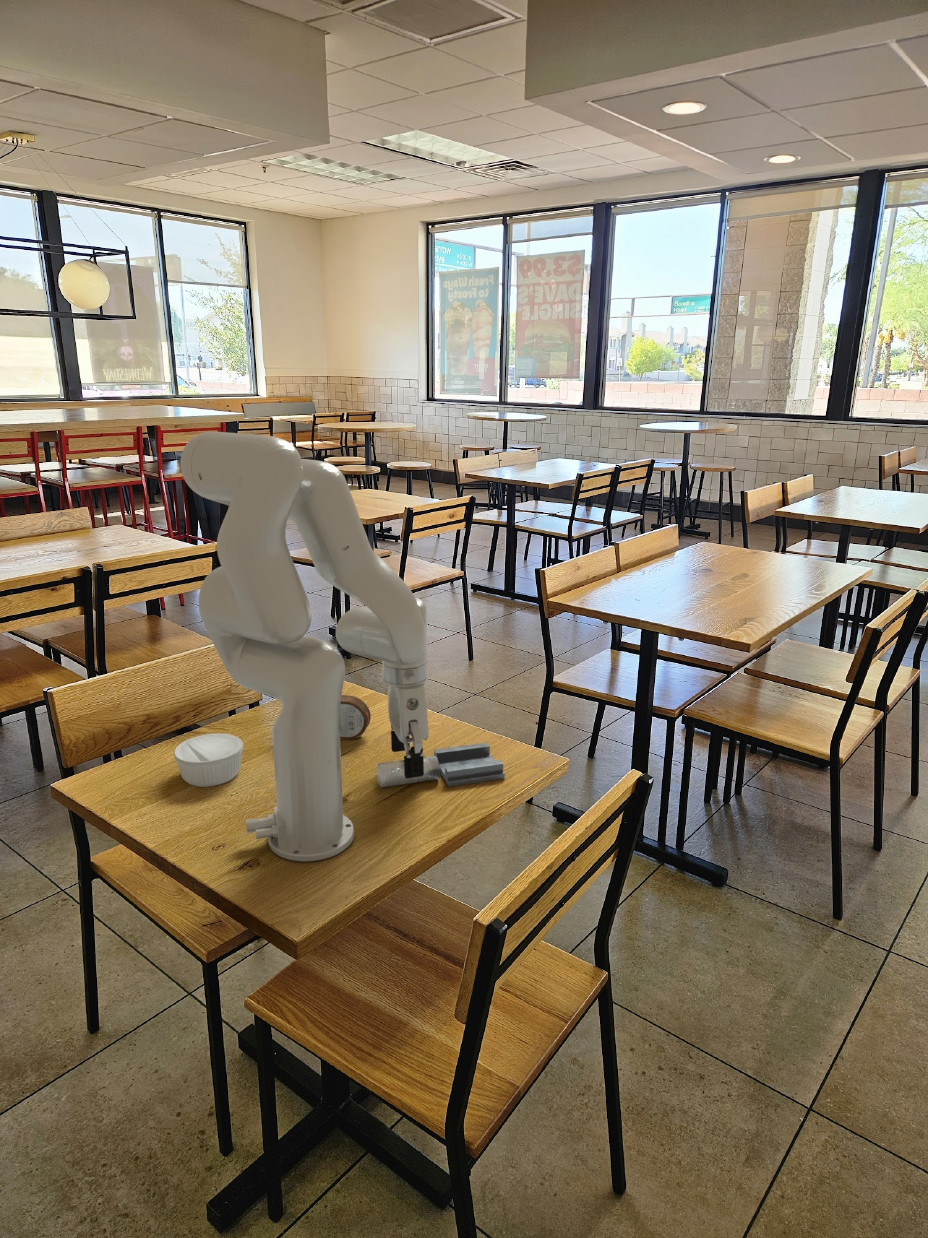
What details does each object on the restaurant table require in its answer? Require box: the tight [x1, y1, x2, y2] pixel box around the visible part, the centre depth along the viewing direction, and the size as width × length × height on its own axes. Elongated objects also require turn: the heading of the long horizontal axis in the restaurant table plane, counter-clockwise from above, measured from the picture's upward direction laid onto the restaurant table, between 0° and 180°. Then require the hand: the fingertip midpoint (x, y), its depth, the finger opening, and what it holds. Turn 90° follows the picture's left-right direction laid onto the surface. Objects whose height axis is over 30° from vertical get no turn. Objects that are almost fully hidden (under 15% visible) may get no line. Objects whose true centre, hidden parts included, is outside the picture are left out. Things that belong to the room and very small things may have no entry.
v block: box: [432, 742, 506, 788], centre depth 141 cm, size 10×10×2 cm
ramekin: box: [173, 732, 244, 788], centre depth 139 cm, size 11×11×5 cm
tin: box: [340, 694, 372, 740], centre depth 153 cm, size 15×3×8 cm, turn 84°
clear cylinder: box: [376, 755, 441, 788], centre depth 137 cm, size 10×4×4 cm
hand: (407, 763), depth 139 cm, fingers open, 9 cm apart
